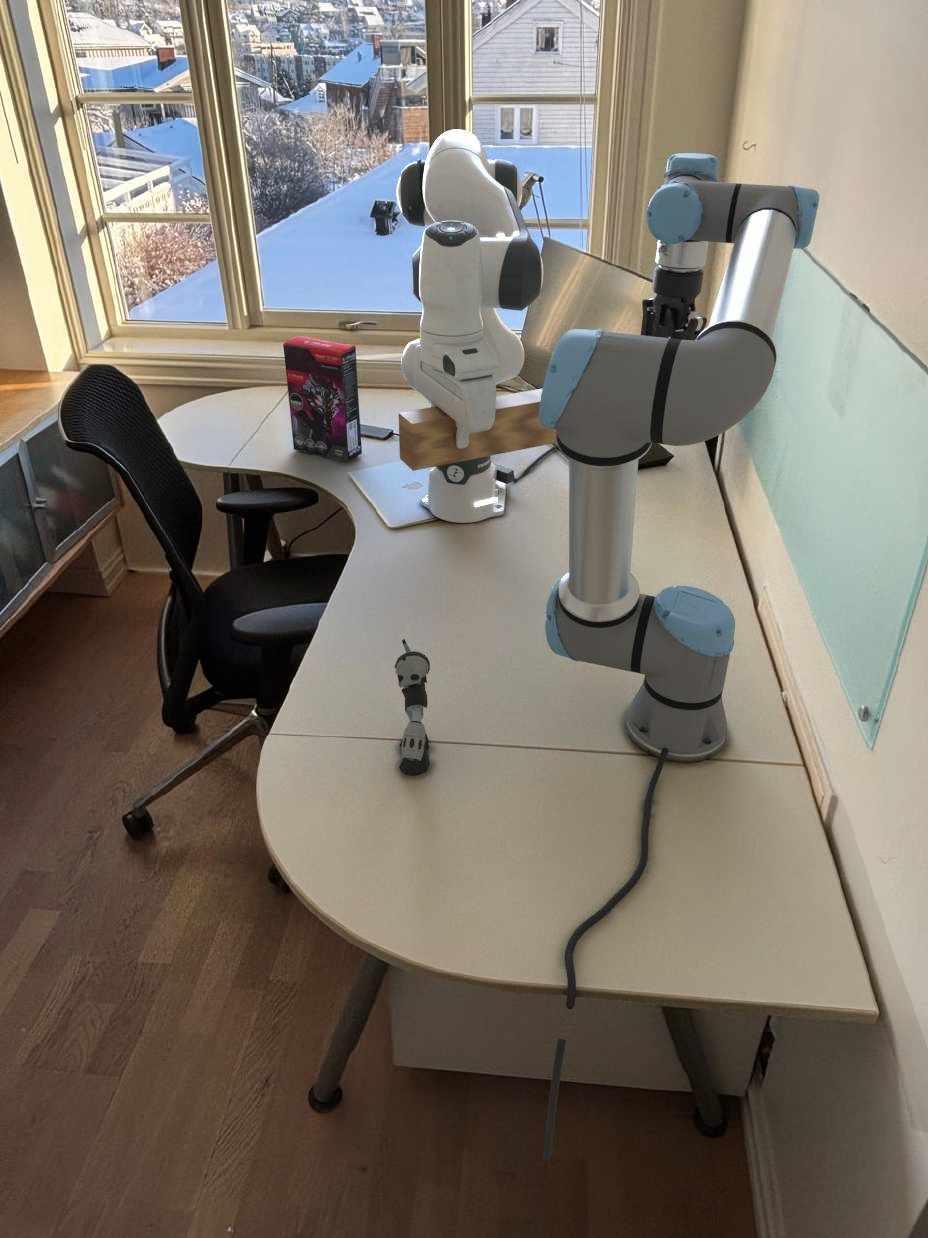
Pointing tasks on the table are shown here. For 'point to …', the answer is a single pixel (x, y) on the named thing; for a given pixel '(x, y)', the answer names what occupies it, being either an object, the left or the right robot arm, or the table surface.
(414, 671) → the robot
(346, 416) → the graphics card box
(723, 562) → the table surface
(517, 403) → the post
